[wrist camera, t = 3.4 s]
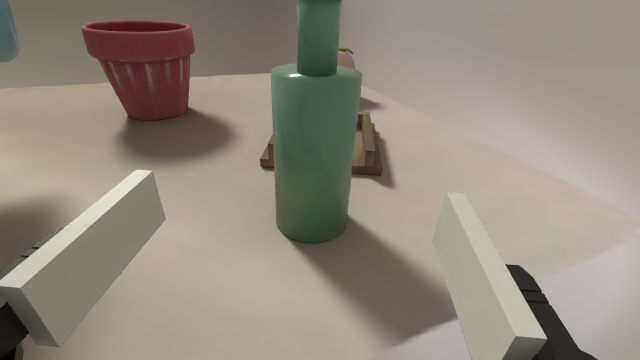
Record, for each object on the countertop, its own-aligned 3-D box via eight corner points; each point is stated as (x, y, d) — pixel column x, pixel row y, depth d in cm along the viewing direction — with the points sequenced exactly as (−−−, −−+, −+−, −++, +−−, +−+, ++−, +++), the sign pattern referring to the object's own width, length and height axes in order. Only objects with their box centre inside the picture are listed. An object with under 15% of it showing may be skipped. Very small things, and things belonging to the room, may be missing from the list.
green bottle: (269, 239, 26) (255, -25, 17) (283, 196, 32) (278, -20, 22) (346, 246, 26) (375, -19, 16) (346, 201, 31) (369, -15, 22)
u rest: (260, 166, 37) (258, 143, 35) (282, 123, 49) (282, 104, 47) (380, 175, 36) (384, 151, 34) (373, 129, 48) (375, 110, 46)
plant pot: (204, 123, 48) (189, 30, 41) (98, 130, 44) (63, 29, 37) (203, 96, 59) (192, 20, 53) (120, 100, 55) (95, 19, 49)
